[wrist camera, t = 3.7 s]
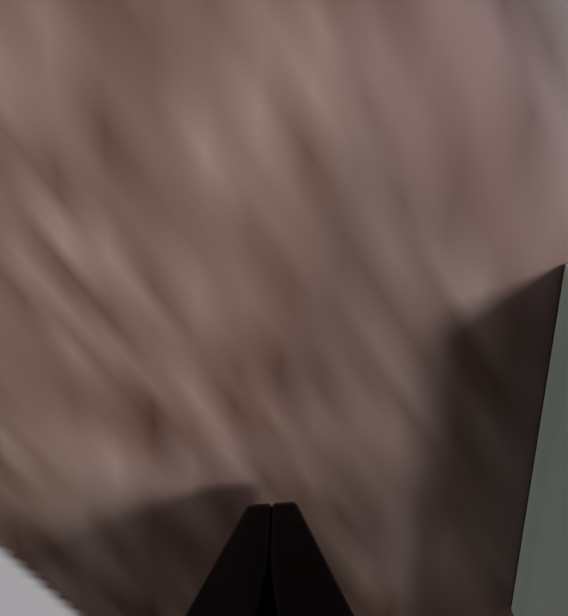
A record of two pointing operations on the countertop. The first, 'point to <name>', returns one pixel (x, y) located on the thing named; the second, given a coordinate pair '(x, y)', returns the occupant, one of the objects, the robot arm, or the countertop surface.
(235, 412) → the countertop surface
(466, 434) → the countertop surface
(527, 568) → the tray
